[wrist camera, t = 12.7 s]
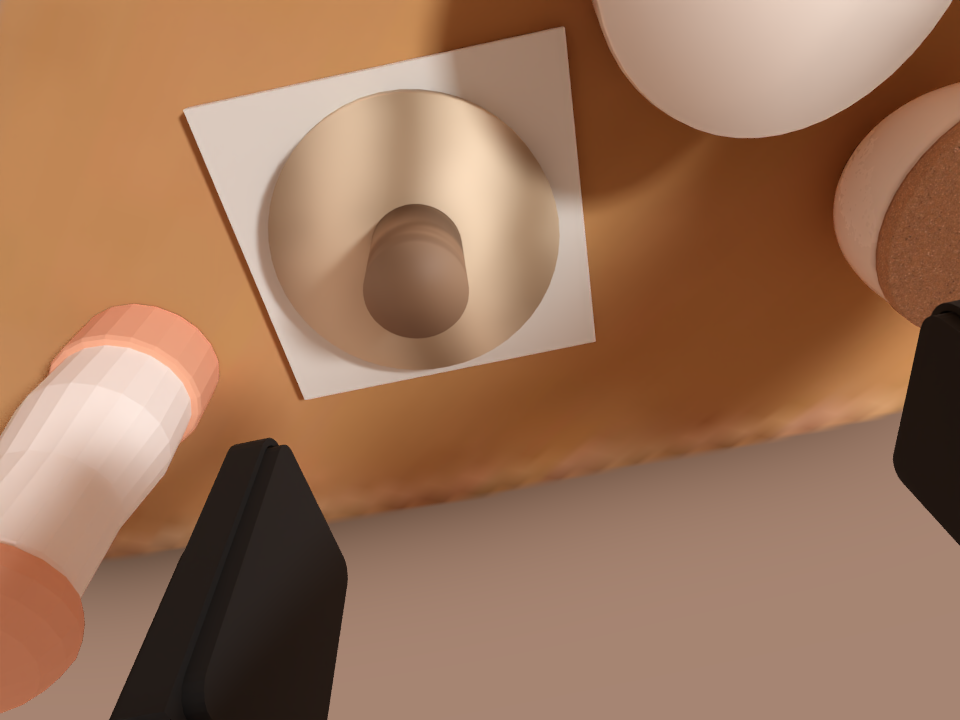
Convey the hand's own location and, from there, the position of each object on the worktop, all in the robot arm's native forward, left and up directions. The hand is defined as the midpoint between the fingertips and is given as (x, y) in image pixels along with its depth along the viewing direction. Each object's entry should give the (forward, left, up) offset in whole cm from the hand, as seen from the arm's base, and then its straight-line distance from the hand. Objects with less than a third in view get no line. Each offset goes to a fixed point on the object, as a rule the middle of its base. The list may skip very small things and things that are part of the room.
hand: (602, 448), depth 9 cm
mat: (+4, +4, -23) cm, 24 cm away
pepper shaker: (+20, +8, -23) cm, 32 cm away
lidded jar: (-21, +6, -23) cm, 32 cm away
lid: (+4, +4, -23) cm, 23 cm away
